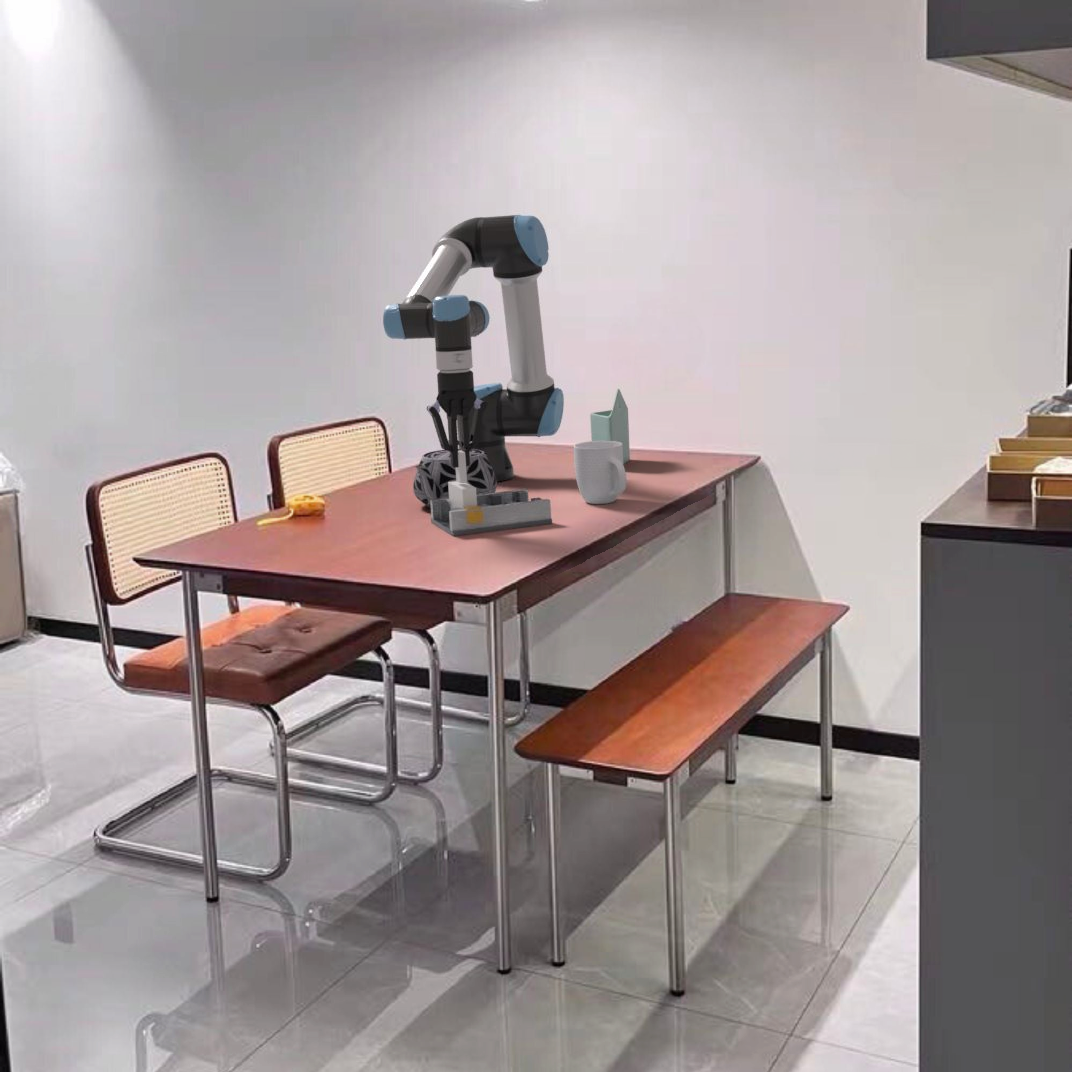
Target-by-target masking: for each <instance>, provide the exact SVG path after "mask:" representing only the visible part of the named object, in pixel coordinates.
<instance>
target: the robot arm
mask: <svg viewBox="0 0 1072 1072" xmlns="http://www.w3.org/2000/svg"><path fill="white" fill-rule="evenodd" d="M431 255H432V256H431V259H430V261H429V262H428V264H427V265H426V267H425V268H424V270H423V271H422V273H421V274H420V276H419V277H418V279H417V280H416V282H415V284H414V285H413V287H412V288H411V289H410V291H409V292H408V295H407V296H406V297H405V299H404V300H403V302H402V303H399V302H396V303H392V304H388V305H386V306H385V308H384V310H383V315H382V325H383V329H384V332H385V335H386V336H387V337H388V338H390V339H394V340H395V339H396V340H415V339H418V340H420V339H434V342H435V343H434V344H435V361H436V365H435V366H436V369H437V370H438V371H439V372H437V374H436V378H437V381H436V382H437V390H438V391H437V396H436V401H435V402H434V403H433V404H431V405H427V406H426V411H427V412H428V413H429V415H430V416H431V418H432V422H433V424H434V428H435V432H436V435H437V437H438V441H439V445H440V448H441V450H447V451H450V456H451V465H452V467H454V468H456V481H457V482H459V483H467V474H466V466H470V453H469V452H470V451H471V449H476V450H481V451H483V452H485V453H486V454H487V459H488V461H489V463H490V465H491V466H492V469H493V471H494V473H495V476H496V480H497V482H502V481H506V480H507V481H508V480H511V479H512V478H514V476H515V475H514V474H515V473H514V472H515V471H514V465H513V463H512V460H511V459H510V455H509V453H508V451H507V448H506V437H537V438H540V437H550V436H554V435H556V433H558V431H559V430H560V427H561V423H562V420H563V414H564V407H565V406H564V401H565V397H564V392H563V390H562V389H561V388H559V387H556V386H555V381H554V379H553V377H552V376H550V375H549V374H548V372H547V364H546V363H547V362H546V354H545V344H544V336H543V326H542V325H543V324H542V316H541V305H540V297H539V288H538V278H539V276H540V275H541V274H542V272H543V266H545V265H546V264H548V263H547V262H548V261H549V241H548V237H547V232H546V229H545V228H544V225H543V223H542V222H541V220H540V219H539V218H538V217H536V216H535V215H521V214H515V215H514V214H512V215H500V216H499V215H498V216H485V217H483V216H482V217H481V216H480V217H478V216H477V217H474V218H469V219H467V220H464V221H462V222H460V223H458V224H457V225H454V226H453V227H452V228H450V229H449V230H448V231H447V232H445V233H444V234H443V235H442V236H441V237H440V238H439V240H438V241H437V242H436V244H434V247H433V249H432V253H431ZM477 268H483V269H484V268H492V273H493V277H494V279H496V280H497V281H498V282H500V287H501V294H502V304H503V311H504V313H503V314H504V321H505V322H504V323H505V329H506V330H505V331H506V339H507V340H506V341H507V346H508V356H509V364H510V372H511V373H510V374H511V378H510V380H509V381H508V382H507V383H506V389H505V388H504V386H503V384H502V383H501V382H498V383H497V382H493V383H487V384H481V385H475V382H474V372H473V371H472V370H471V369H472V368H473V351H472V338H473V337H474V338H475V337H477V336H479V335H480V334H483V332H486V329H488V327H489V324H490V313H489V311H488V308H487V307H486V306H485V304H483V303H481V302H479V301H477V300H473V299H472V300H469V298H468V296H467V295H464V294H450V293H451V291H452V290H453V288H454V287H455V285H456V284H457V281H458V280H459V278H460V277H462V276H464V275H466V274H467V273H468V272H469V271H470V270H471V269H477ZM449 294H450V295H449ZM440 408H441V409H442V410H443V412H444V413H445V414H446V419H447V430H448V432H446V430H445V427H444V423H443V421H442V416H441V415H440V412H441V409H440ZM447 433H448V437H447ZM448 440H449V442H448ZM458 440H459V441H460V443H459V445H458ZM458 449H462V451H458Z"/></svg>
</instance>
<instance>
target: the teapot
mask: <svg viewBox="0 0 1072 1072" xmlns="http://www.w3.org/2000/svg"><path fill="white" fill-rule="evenodd" d="M448 442H449V439H448ZM459 443H460V441H459V440H458V446H459ZM458 451H462V449H459V448H458ZM469 453H470V466H466V474H467V484H469V485H471V486H473V487H475V488H476V495H478V494H487V493H495V492H496V491H497V487H498V483H497V480H496V476H495V473H494V471H493V469H492V466H491V465H490V463H489V461H488V459H487V454H486V453H485V452H483V451H481V450H476V449H471V451H470V452H469ZM414 468H416V472H415V475H414V478H413V490H412V491H413V493H414V496H415V497H416V499H417V500H419V502H420V503H422V504H424V506H426V507H427V508H430V509H431V504H430V500H436V499H444V498H449V488H448V482H453V481H456V468H454V467H452V465H451V456H450V451H447V450H444V449H439V450H434V451H429V452H426V453H424V454H422V457H421V459H420V461H419V464H417V465H415V466H414Z"/></svg>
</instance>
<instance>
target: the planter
mask: <svg viewBox="0 0 1072 1072" xmlns="http://www.w3.org/2000/svg"><path fill="white" fill-rule="evenodd" d="M614 397H615V398H614V401H613V402H614V403H613V405H612V409H610V410H603V411H596V412H591V413H590V415H589V416H590V434H591V435H590V436H591V437H590V438H591V440H590V441H616V442H620V443H622V448H623V465H624V464H626V463H628V461H630V459H631V458H630V457H631V453H630V427H629V408H628V405H627V403H626V400H625V398H624V397H623V394H622V392H621V390H620V388H617V390H616V393H615V396H614Z"/></svg>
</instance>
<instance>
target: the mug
mask: <svg viewBox="0 0 1072 1072" xmlns="http://www.w3.org/2000/svg"><path fill="white" fill-rule="evenodd" d="M573 461H574V462H573V463H574V475H575V479H576V484H577V487H578V490H579V492H580V495H581V497H582V499H583V500H584V502H586V503H587V504H590V505H604V504H611V503H614V502H615V501H616V499H617V498H618V496H620V495H621V494H623V493H624V491H626V487H627V473H626V469H625V466H624V464H623V448H622V443H620V442H616V441H592V440H590V441H589V440H588V441H584V442H579V443H575V444H574V445H573Z"/></svg>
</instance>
